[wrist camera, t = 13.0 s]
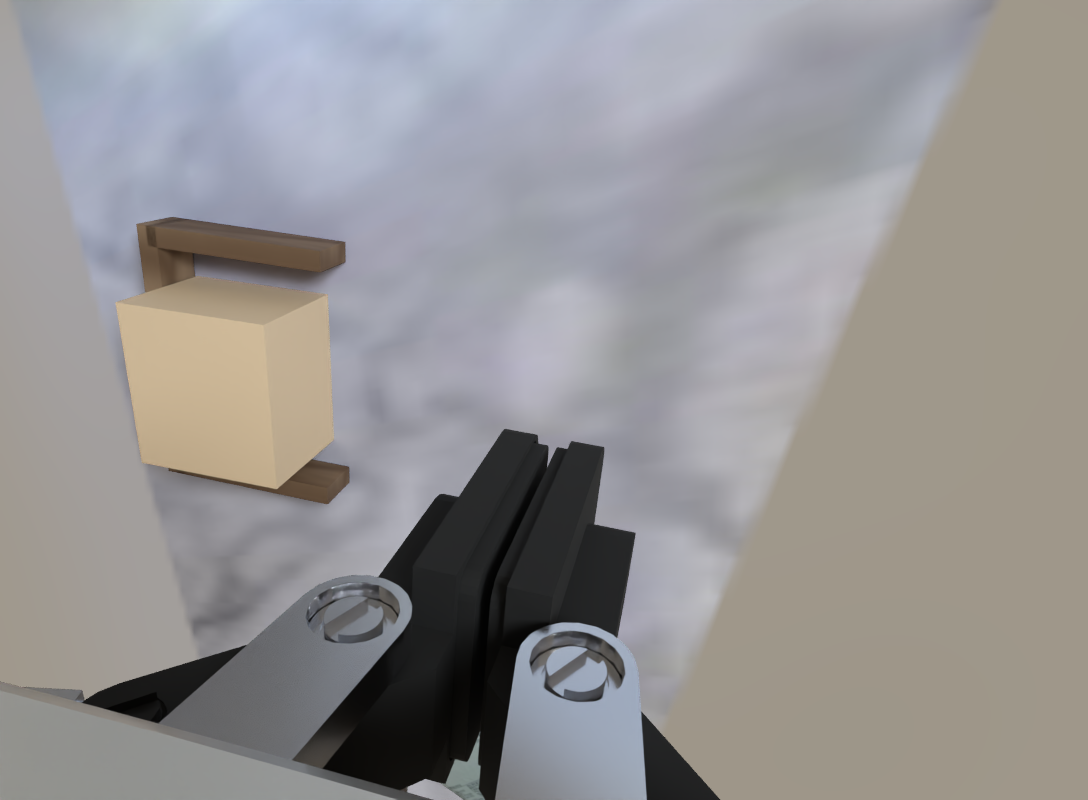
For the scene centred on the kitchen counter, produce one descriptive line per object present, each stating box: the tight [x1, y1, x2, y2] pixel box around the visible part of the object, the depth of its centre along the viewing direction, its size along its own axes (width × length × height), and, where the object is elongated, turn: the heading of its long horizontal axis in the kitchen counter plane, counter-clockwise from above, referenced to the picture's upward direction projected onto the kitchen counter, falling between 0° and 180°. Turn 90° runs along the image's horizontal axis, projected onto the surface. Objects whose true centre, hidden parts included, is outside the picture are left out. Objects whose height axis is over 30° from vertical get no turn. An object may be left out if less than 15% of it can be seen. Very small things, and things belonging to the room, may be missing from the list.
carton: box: [116, 276, 334, 489], centre depth 44 cm, size 10×9×7 cm
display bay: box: [136, 217, 349, 504], centre depth 45 cm, size 16×12×3 cm
